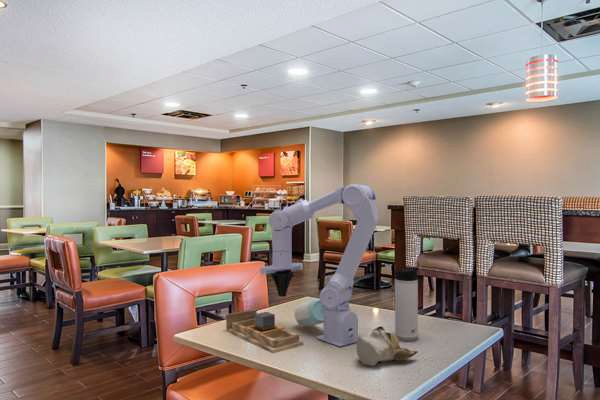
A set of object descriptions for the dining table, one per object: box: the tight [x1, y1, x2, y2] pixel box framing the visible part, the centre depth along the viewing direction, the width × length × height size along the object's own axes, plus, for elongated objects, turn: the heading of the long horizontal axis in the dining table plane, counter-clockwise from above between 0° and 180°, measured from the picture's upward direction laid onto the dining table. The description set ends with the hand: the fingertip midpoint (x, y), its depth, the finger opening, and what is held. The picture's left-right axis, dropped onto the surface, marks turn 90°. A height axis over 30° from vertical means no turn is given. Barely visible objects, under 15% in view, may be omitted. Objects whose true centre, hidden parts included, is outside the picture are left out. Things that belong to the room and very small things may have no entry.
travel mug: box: [394, 266, 420, 342], centre depth 122 cm, size 6×7×20 cm
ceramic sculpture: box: [356, 326, 418, 367], centre depth 105 cm, size 11×9×15 cm
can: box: [294, 298, 324, 327], centre depth 129 cm, size 7×7×12 cm
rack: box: [225, 308, 304, 354], centre depth 123 cm, size 24×10×5 cm, turn 39°
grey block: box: [255, 311, 276, 332], centre depth 122 cm, size 4×4×6 cm
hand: (282, 296), depth 129 cm, fingers closed
